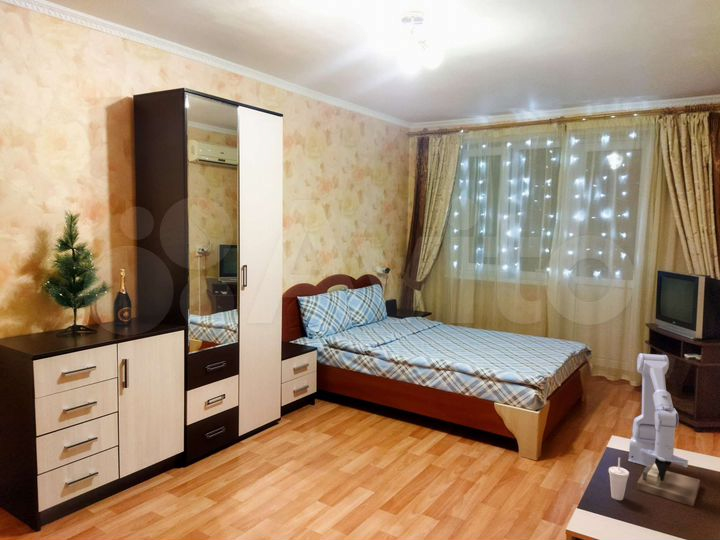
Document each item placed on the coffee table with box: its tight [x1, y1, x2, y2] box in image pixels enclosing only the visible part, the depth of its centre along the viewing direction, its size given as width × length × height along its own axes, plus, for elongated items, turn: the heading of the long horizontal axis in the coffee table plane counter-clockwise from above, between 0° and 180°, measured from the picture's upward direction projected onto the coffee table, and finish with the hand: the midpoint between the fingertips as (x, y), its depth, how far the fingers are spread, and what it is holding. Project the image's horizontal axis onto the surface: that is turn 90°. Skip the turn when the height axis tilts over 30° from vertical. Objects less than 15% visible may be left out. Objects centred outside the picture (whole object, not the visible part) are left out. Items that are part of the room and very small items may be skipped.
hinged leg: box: [647, 463, 660, 485], centre depth 187 cm, size 13×3×4 cm, turn 138°
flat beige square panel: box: [636, 465, 701, 507], centre depth 184 cm, size 17×17×6 cm
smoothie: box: [608, 457, 630, 501], centre depth 177 cm, size 6×6×14 cm
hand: (662, 479), depth 183 cm, fingers closed
